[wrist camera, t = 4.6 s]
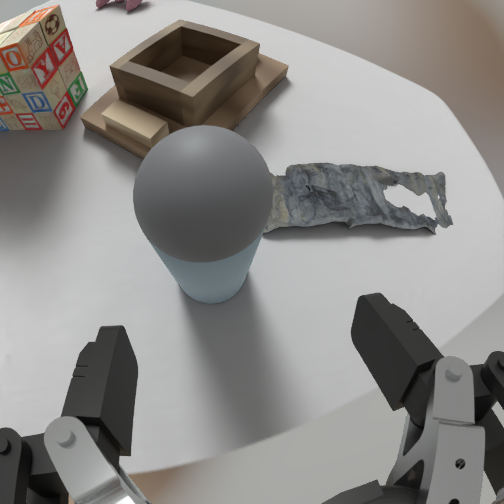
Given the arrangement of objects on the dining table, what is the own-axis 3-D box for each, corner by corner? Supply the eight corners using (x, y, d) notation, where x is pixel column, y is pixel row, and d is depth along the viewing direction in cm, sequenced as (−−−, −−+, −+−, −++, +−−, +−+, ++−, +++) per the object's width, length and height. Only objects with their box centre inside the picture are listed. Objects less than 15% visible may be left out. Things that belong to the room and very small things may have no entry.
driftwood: (244, 237, 22) (247, 226, 20) (241, 161, 24) (244, 146, 22) (451, 238, 25) (464, 231, 23) (435, 179, 27) (446, 169, 25)
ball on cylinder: (221, 317, 20) (223, 274, 7) (162, 278, 20) (83, 180, 8) (259, 258, 22) (314, 140, 9) (201, 222, 22) (186, 78, 9)
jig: (185, 183, 23) (178, 141, 17) (84, 126, 24) (66, 88, 18) (286, 75, 28) (296, 36, 23) (191, 40, 29) (190, 4, 24)
